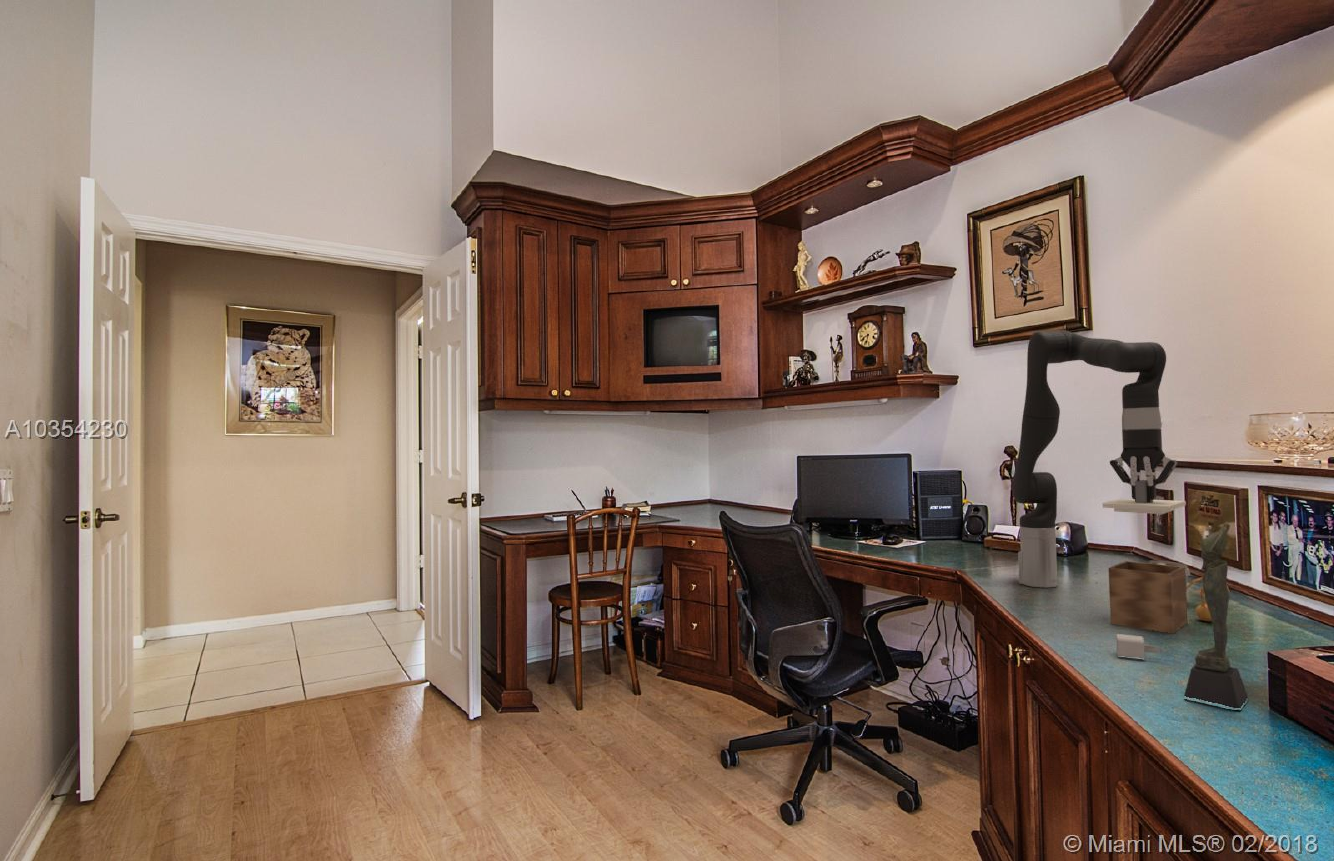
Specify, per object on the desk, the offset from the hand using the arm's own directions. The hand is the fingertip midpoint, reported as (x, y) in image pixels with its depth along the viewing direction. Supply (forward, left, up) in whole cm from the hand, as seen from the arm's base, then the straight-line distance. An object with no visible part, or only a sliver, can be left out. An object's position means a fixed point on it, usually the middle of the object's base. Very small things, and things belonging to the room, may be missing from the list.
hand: (1144, 501), depth 158 cm
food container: (-1, +26, -29) cm, 39 cm away
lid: (0, 0, -2) cm, 2 cm away
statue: (+21, -45, -29) cm, 57 cm away
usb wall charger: (+6, -29, -29) cm, 41 cm away
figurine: (+9, +10, -29) cm, 32 cm away
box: (0, 0, -28) cm, 28 cm away
